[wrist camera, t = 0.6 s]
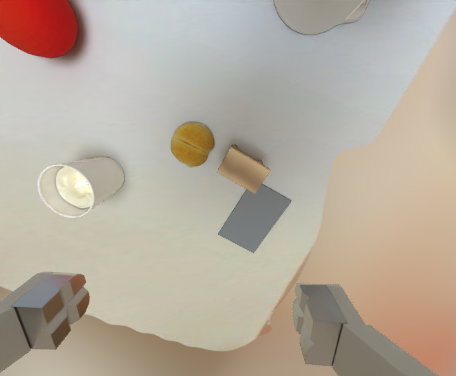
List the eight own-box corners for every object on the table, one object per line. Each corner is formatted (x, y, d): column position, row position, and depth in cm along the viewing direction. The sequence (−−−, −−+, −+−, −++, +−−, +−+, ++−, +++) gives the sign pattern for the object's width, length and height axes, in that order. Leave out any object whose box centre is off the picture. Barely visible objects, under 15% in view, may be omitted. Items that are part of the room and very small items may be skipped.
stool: (232, 142, 44) (231, 147, 36) (264, 161, 45) (270, 170, 37) (220, 162, 45) (217, 172, 37) (252, 180, 46) (255, 193, 38)
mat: (253, 178, 46) (253, 179, 46) (291, 200, 47) (291, 201, 47) (218, 233, 51) (218, 234, 51) (253, 252, 52) (253, 252, 52)
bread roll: (220, 134, 44) (218, 136, 40) (200, 170, 47) (196, 174, 43) (185, 113, 43) (180, 112, 39) (166, 150, 45) (160, 153, 42)
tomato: (83, -23, 36) (17, -84, 26) (94, 66, 41) (42, 47, 30) (14, -27, 37) (-80, -88, 26) (32, 63, 41) (-42, 42, 30)
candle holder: (85, 148, 46) (35, 157, 34) (130, 159, 46) (94, 172, 35) (84, 189, 49) (38, 210, 38) (126, 199, 49) (92, 223, 38)
